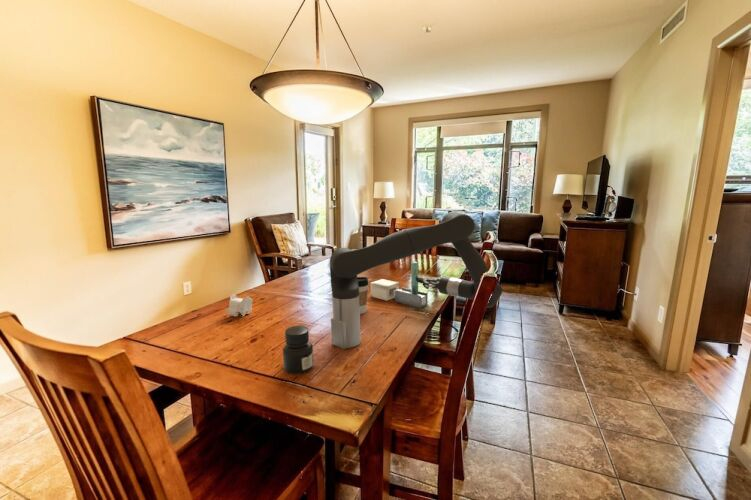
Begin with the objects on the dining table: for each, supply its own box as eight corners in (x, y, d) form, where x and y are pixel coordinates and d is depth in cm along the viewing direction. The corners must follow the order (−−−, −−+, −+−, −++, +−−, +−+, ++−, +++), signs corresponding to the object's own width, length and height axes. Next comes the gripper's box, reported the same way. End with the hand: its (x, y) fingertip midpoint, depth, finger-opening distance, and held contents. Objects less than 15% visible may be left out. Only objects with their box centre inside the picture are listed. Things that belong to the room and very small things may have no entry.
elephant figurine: (220, 318, 144) (218, 298, 142) (243, 309, 154) (241, 290, 153) (236, 322, 139) (234, 301, 138) (258, 312, 150) (257, 293, 148)
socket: (386, 300, 162) (386, 286, 160) (370, 296, 169) (370, 282, 167) (398, 296, 168) (398, 282, 167) (382, 292, 175) (382, 278, 174)
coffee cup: (366, 315, 143) (365, 281, 141) (347, 314, 145) (346, 280, 142) (371, 308, 152) (370, 276, 149) (352, 307, 153) (351, 275, 150)
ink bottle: (312, 375, 99) (309, 336, 96) (281, 376, 98) (278, 338, 96) (315, 358, 108) (313, 323, 106) (287, 360, 108) (284, 324, 105)
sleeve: (419, 308, 151) (419, 296, 150) (395, 301, 160) (395, 290, 159) (427, 304, 155) (427, 292, 154) (403, 298, 164) (403, 287, 163)
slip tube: (421, 305, 152) (421, 264, 148) (393, 297, 162) (393, 259, 159) (426, 303, 154) (426, 263, 151) (398, 296, 165) (398, 258, 161)
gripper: (460, 274, 146) (426, 268, 157) (443, 281, 136) (409, 274, 147) (459, 291, 147) (426, 284, 158) (443, 299, 137) (409, 291, 149)
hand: (418, 279), depth 153 cm, fingers closed
